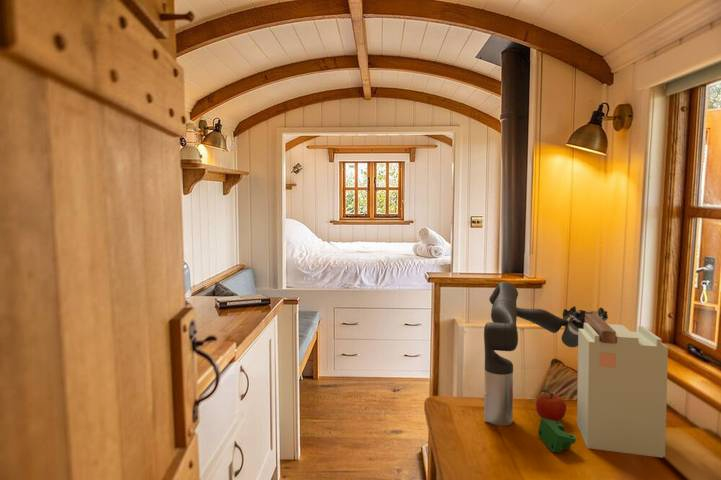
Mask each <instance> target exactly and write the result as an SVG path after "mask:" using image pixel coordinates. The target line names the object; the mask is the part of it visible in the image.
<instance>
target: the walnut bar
mask: <svg viewBox="0 0 721 480" xmlns="http://www.w3.org/2000/svg"><path fill="white" fill-rule="evenodd" d="M585 323H588V324H589V325H590V326H591V327H592V328H593V329H594V330H595V331H596V333H597V334H598V335H599V340H600V341H601V342H602V343H613V344H616V331H615V330H613V329H612V328H611V327H610V326H609V325H608V324H609V323H607V322H606V321H604V320H602V319H601V318H600V317H599V316H598V314H588V313H585Z"/></svg>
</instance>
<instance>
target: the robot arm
mask: <svg viewBox="0 0 721 480" xmlns="http://www.w3.org/2000/svg"><path fill="white" fill-rule="evenodd" d="M518 296H519V291H518V289H517V287H515V285H514V284H512V283H510V282H508V281H502V282H501V281H500V282H499V283H498V284H497V285H496V287H495V288H494V290H493V291H492V293H491V295H490V296H489V302H490V304H491V305H492V306H491V311H490V318H491V322H490V321H488V322H486V323H485V325H484V328H483V330H484V331H483V343H484V394H483V395H484V404H483V405H484V408H483V410H484V411H483V414H484V415H483V416H484V417H483V418H484V419H483V420H484V422H485V423H489V424H491V425H495V426H510V425H512V424H513V422H514V364H513V362H512V360H509V359H507V358H505V357H503V356H501V355H499V354H498V353H497V352H496V351H498V352H513V351H515V350H516V349H517V347H518V344H519V332H518V326H517V317H518V318H520V319H523V320H526V321H529V322H531V323H533V324H535V325H537V326H539V327H540V328H542V329H545V330H547V331H548V332H550V333H553V334H557V333H558V332H559V331H560V330H561V328H562V327H564V330H563V332H562V334H561V342H562V343H563V344H564V346H567V347H568V348H577V347H578V329H584V323H585V313H588V314H597V315H598V316H599V317H600V318H601V319H602V320H604V321H605V322H606V321H607V320H608V319H609V317H608V311H607V310H605V309H604V308H603V307H599V308H598V310H591V311H586V310H583V309H579V310H577V308H576V306H572V307H570V308H569V309H565V308H564V309H563V311H562V318H561V317H559V316H557V315H555V314H554V313H552V312H550V311H547V310H546V309H542V308H521V307H517V299H518Z"/></svg>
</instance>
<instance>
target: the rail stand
mask: <svg viewBox="0 0 721 480" xmlns="http://www.w3.org/2000/svg"><path fill="white" fill-rule="evenodd" d="M607 324H608V325H609V326H610V327H611V328H612V329H613V330H615V331H616V344H613V343H602V342H601V341H600V340H599V335H598V334H597V333H596V331H595V330H594V329H593V328H592V327H591V326H590V325H589V324H588V323H584V329H578V346H577V347H578V348H577V393H576V394H577V398H576V399H577V402H576V403H577V404H576V405H577V406H576V410H577V411H576V414H577V415H576V425H577V427H578V429H579V431H580V434H581V436H582V438H583V441H584V444H585V447H586V449H590V450H591V449H593V450H599V451H607V452H615V453H624V454H631V455H638V456H647V457H656V458H663V456H665V457H666V445H667V444H666V439H667V437H666V436H667V429H666V428H667V401H668V396H667V395H668V357H669V354H668V353H669V347H668V345H666V344H665V343H663V342H662V340H663V339H662V338H661V337H659V336H657V335H656V334H654V333H653V332H651V331H650V330H649V329H647V327H645V326H643V325H638V328H637V329H638V330H637V331H630V330H629V329H628V328H627V327H626V326H625V325H623V324H614V323H613V324H610V323H607ZM663 459H664V458H663Z"/></svg>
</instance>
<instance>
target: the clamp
mask: <svg viewBox="0 0 721 480" xmlns="http://www.w3.org/2000/svg"><path fill="white" fill-rule="evenodd" d="M565 430H566V426H565V425H564V424H562V423H561V422H560V421H553V420H549V419H545V418H541V417H540V423H539V426H538V430H537V435H538V437H539V439H540V440H541V441H542V442H543V444H544V445H545V446H546V447H547V449H549V450H550V452H551V453H557V454H561V452H562V450H563V449H564V450H570V447H571V445H573V444H576V441H577V437H576V436H575V435H574V434H573V433H568V432H566V431H565Z"/></svg>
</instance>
